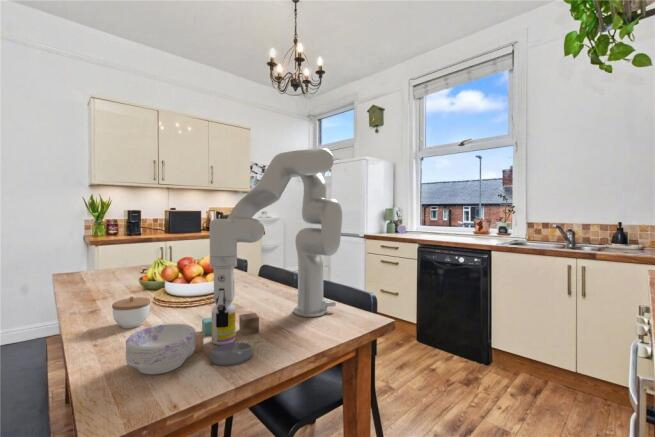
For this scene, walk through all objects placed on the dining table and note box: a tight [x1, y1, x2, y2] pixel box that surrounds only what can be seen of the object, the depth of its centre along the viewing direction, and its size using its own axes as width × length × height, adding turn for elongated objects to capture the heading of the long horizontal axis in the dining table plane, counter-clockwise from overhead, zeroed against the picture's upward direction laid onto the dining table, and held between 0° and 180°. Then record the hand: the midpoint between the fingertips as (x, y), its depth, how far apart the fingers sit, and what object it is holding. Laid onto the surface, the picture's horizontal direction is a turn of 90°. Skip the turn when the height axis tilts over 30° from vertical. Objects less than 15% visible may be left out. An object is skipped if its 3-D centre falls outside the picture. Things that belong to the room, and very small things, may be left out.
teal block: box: [201, 316, 212, 336], centre depth 101 cm, size 6×4×4 cm, turn 123°
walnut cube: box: [238, 312, 260, 337], centre depth 100 cm, size 5×5×5 cm
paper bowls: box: [125, 322, 197, 375], centre depth 79 cm, size 15×15×8 cm
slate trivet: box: [208, 341, 254, 367], centre depth 84 cm, size 11×11×1 cm
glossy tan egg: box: [193, 331, 204, 353], centre depth 88 cm, size 4×4×4 cm
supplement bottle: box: [211, 300, 237, 346], centre depth 93 cm, size 7×7×13 cm
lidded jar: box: [111, 296, 151, 329], centre depth 105 cm, size 11×11×9 cm
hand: (223, 321), depth 93 cm, fingers closed on supplement bottle, 6 cm apart
